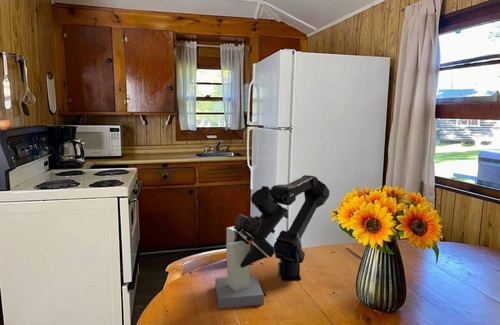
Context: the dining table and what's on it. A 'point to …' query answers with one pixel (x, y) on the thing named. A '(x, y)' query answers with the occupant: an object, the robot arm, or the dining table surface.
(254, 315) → the dining table surface
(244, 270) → the sage block
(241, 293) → the plinth
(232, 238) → the small box
